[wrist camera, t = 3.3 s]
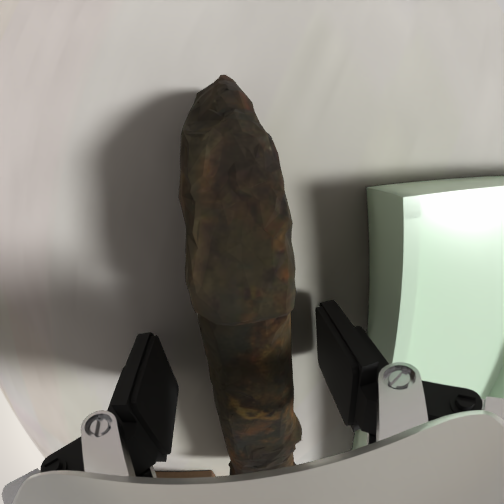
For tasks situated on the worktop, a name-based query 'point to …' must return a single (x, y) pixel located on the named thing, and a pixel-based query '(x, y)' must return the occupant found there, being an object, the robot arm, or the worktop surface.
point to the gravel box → (185, 474)
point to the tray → (439, 280)
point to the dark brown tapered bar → (241, 274)
